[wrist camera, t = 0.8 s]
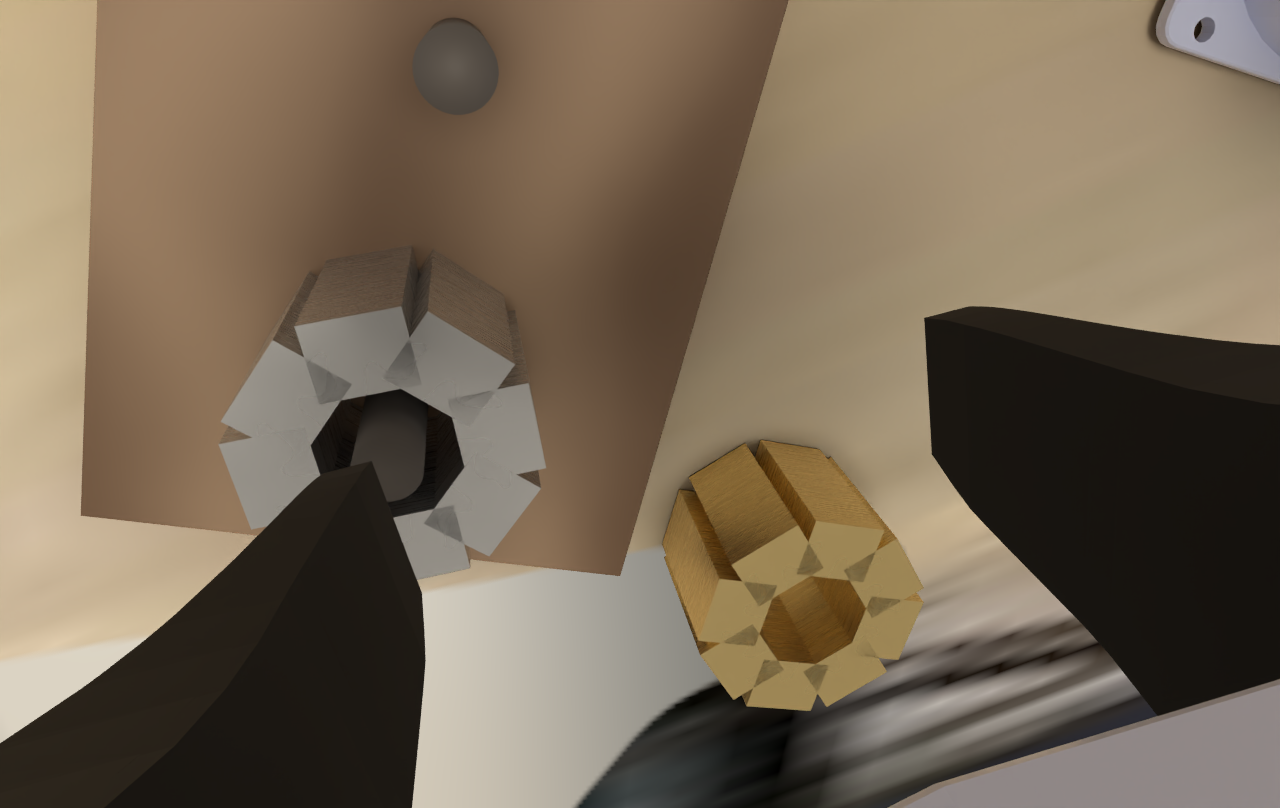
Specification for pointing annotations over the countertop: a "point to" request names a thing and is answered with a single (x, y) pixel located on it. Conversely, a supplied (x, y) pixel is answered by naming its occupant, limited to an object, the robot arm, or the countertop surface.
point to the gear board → (409, 223)
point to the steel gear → (384, 361)
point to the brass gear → (788, 577)
